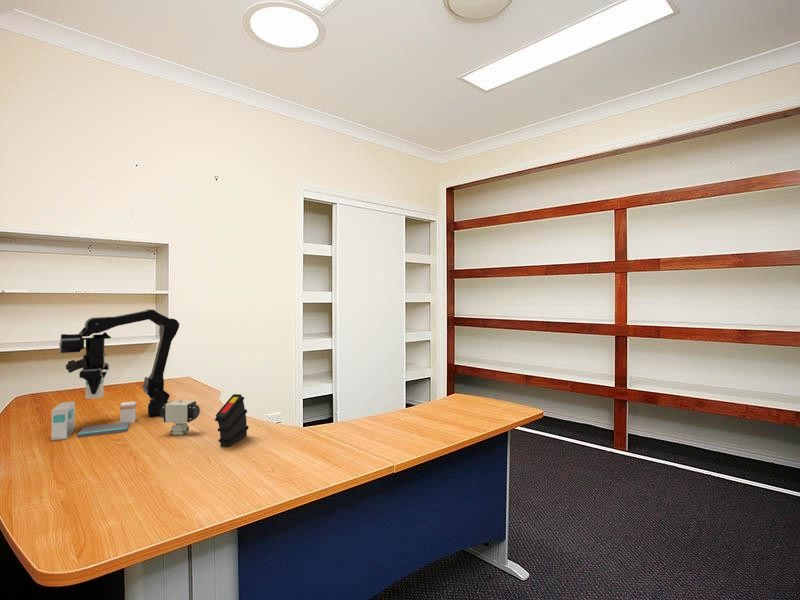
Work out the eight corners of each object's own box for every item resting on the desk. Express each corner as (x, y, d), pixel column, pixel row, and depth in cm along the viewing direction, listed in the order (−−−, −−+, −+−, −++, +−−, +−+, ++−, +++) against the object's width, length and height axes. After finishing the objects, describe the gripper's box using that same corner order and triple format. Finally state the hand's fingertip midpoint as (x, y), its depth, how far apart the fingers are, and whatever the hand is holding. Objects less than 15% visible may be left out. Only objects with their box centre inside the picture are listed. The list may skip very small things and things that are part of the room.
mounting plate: (129, 424, 158) (129, 421, 158) (126, 431, 149) (126, 428, 149) (83, 429, 152) (83, 426, 152) (77, 437, 143) (77, 433, 143)
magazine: (253, 428, 147) (243, 393, 141) (233, 457, 136) (221, 420, 129) (243, 428, 148) (232, 393, 142) (222, 456, 136) (210, 420, 130)
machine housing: (76, 428, 152) (76, 401, 152) (67, 438, 141) (67, 409, 141) (60, 430, 150) (60, 402, 150) (51, 440, 139) (51, 410, 139)
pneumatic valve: (193, 436, 144) (193, 401, 144) (159, 435, 145) (159, 400, 145) (201, 431, 150) (201, 397, 150) (168, 431, 150) (168, 397, 150)
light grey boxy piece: (135, 419, 165) (136, 401, 165) (134, 422, 161) (134, 403, 161) (121, 420, 163) (121, 402, 163) (120, 423, 159) (120, 405, 159)
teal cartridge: (103, 395, 160) (103, 376, 160) (101, 397, 156) (101, 378, 156) (88, 396, 158) (88, 377, 158) (85, 399, 154) (85, 379, 154)
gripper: (74, 349, 162) (74, 390, 162) (61, 355, 145) (61, 400, 145) (109, 348, 167) (109, 387, 167) (100, 353, 150) (100, 397, 150)
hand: (94, 393), depth 157 cm, fingers closed on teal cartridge, 5 cm apart
